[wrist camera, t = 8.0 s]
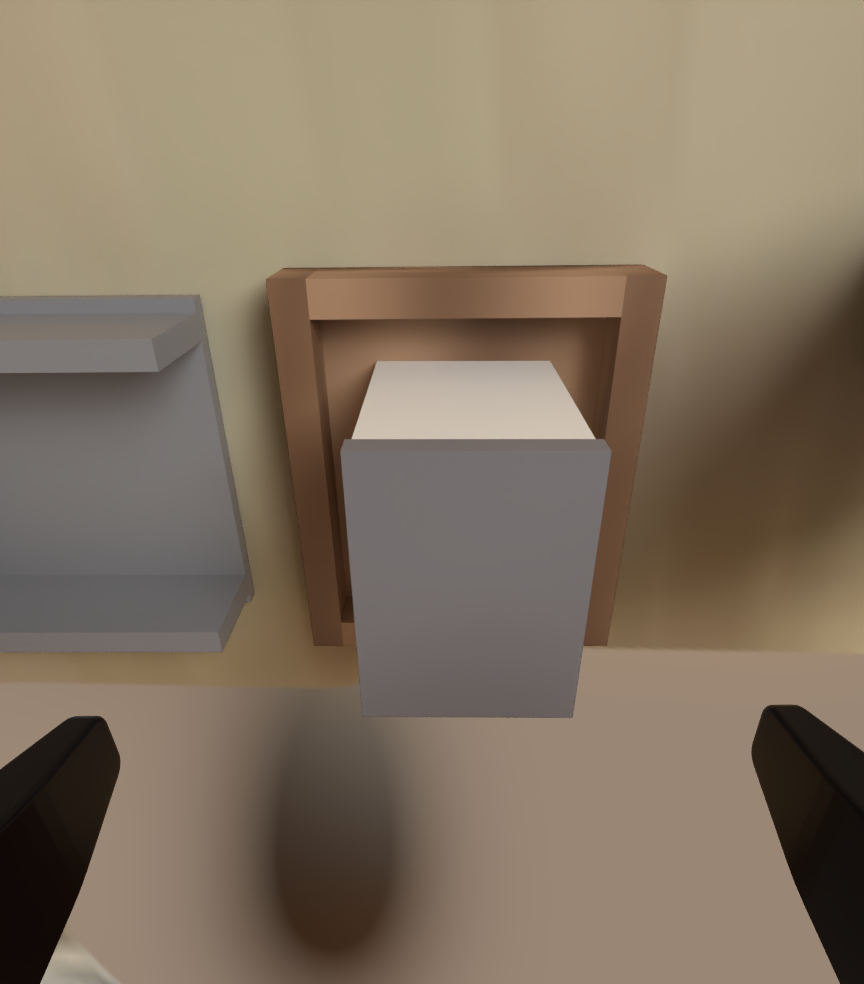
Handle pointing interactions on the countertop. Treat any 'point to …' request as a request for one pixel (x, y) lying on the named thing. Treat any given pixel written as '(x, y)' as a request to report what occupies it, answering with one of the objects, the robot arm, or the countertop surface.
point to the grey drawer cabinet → (114, 479)
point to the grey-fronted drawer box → (471, 539)
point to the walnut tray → (455, 337)
